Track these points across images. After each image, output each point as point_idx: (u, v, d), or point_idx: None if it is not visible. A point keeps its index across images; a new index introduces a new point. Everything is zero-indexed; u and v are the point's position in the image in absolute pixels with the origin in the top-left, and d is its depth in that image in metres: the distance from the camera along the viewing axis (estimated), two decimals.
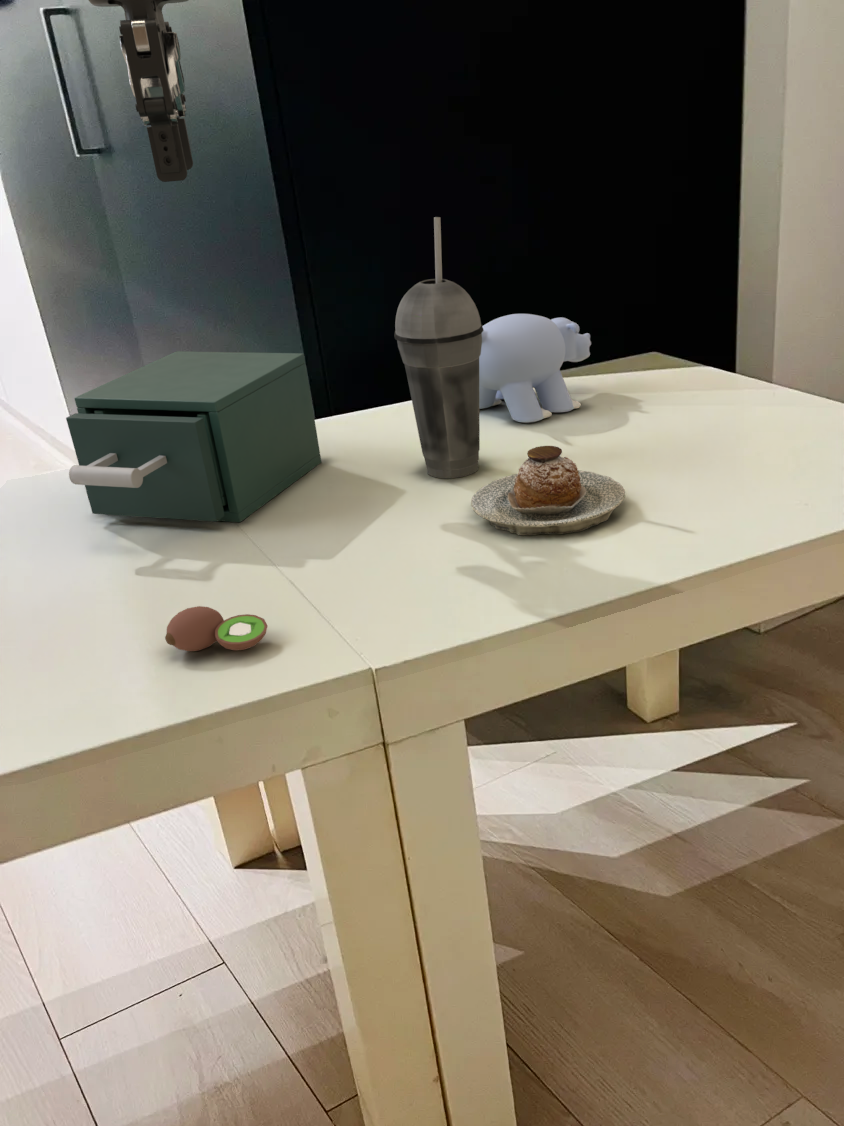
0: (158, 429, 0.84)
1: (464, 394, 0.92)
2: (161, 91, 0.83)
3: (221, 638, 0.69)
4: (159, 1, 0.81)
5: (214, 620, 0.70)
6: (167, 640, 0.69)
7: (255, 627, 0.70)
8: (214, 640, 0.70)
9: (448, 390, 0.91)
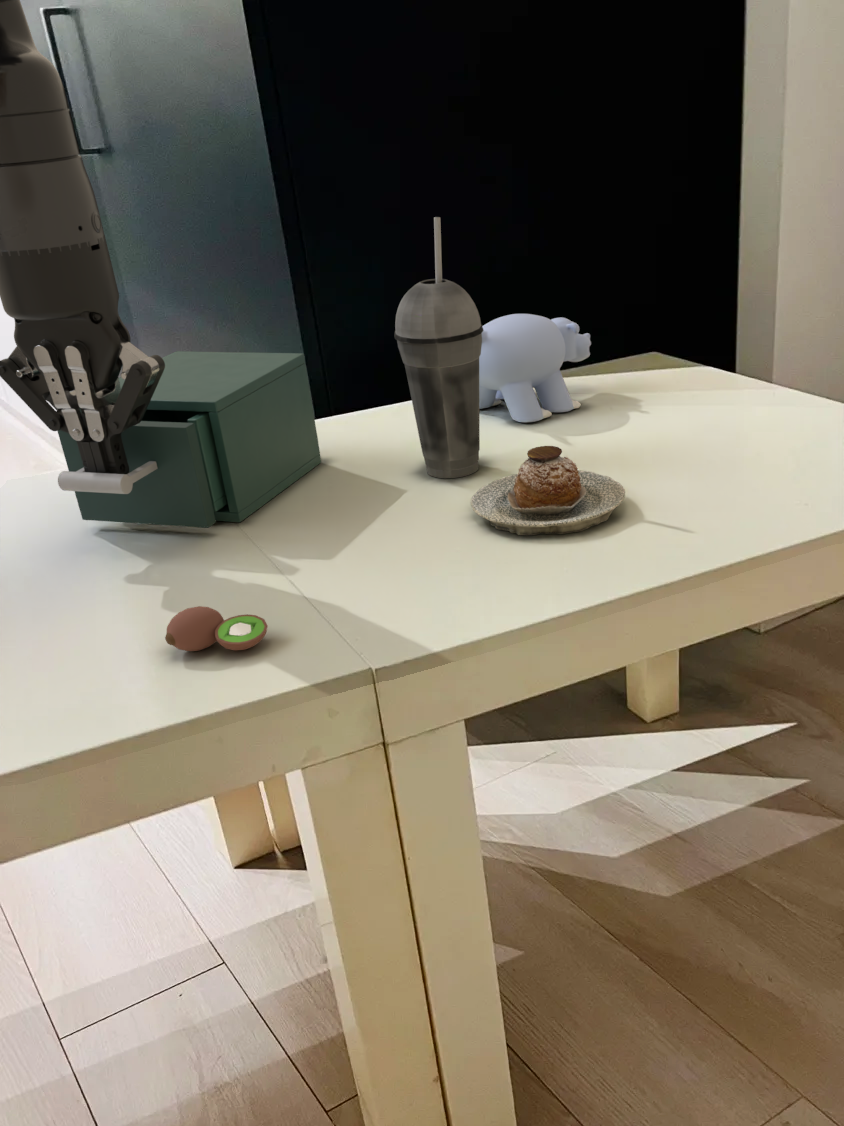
0: (148, 434, 0.83)
1: (464, 394, 0.92)
2: None
3: (221, 638, 0.69)
4: None
5: (214, 620, 0.70)
6: (167, 640, 0.69)
7: (255, 627, 0.70)
8: (214, 640, 0.70)
9: (448, 390, 0.91)
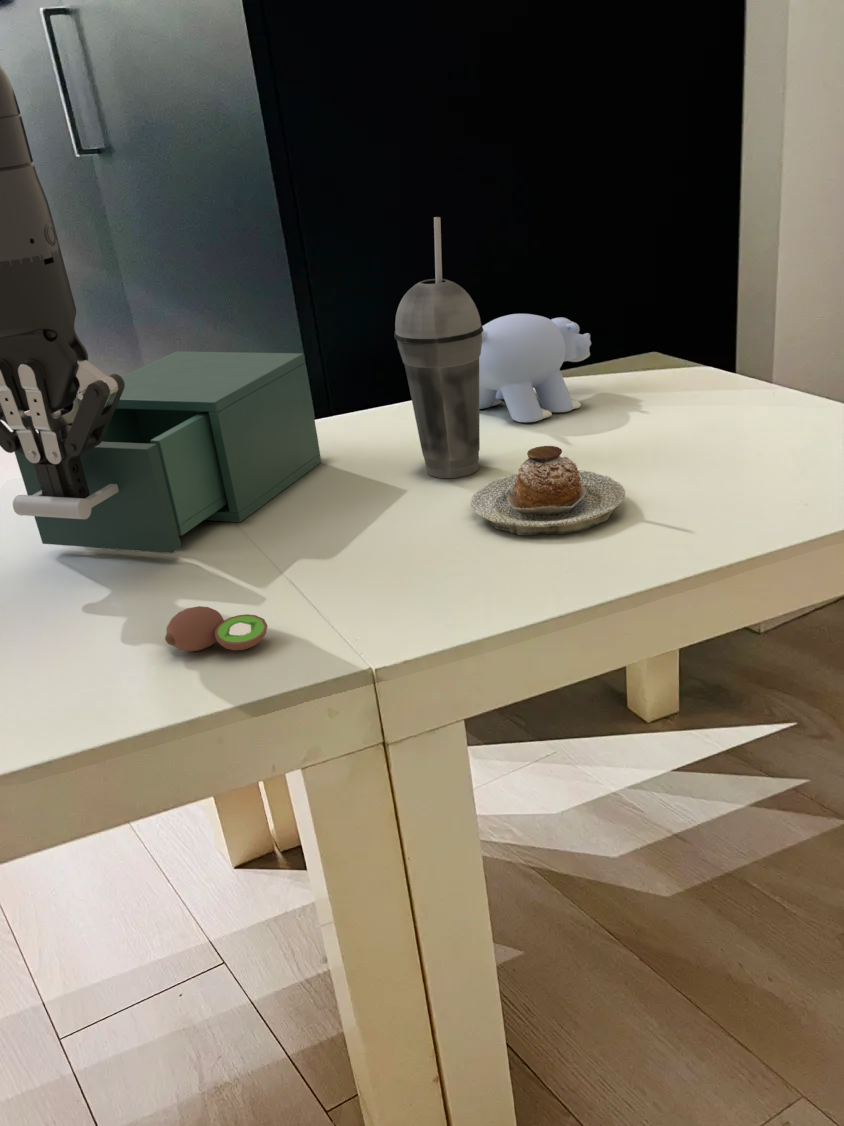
0: (109, 456, 0.79)
1: (464, 394, 0.92)
2: None
3: (221, 638, 0.69)
4: None
5: (214, 620, 0.70)
6: (167, 640, 0.69)
7: (255, 627, 0.70)
8: (214, 640, 0.70)
9: (448, 390, 0.91)
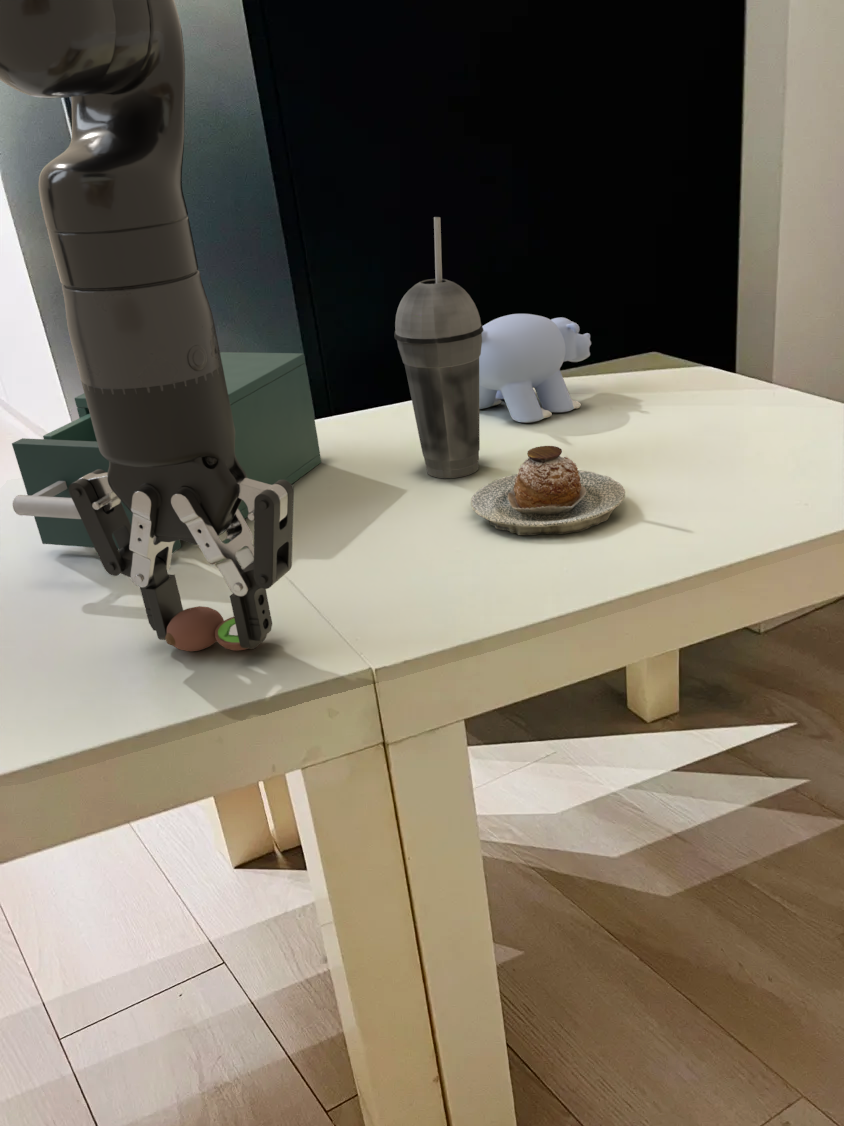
0: None
1: (464, 394, 0.92)
2: None
3: (221, 638, 0.69)
4: None
5: (214, 620, 0.70)
6: (167, 640, 0.69)
7: None
8: (214, 640, 0.70)
9: (448, 390, 0.91)
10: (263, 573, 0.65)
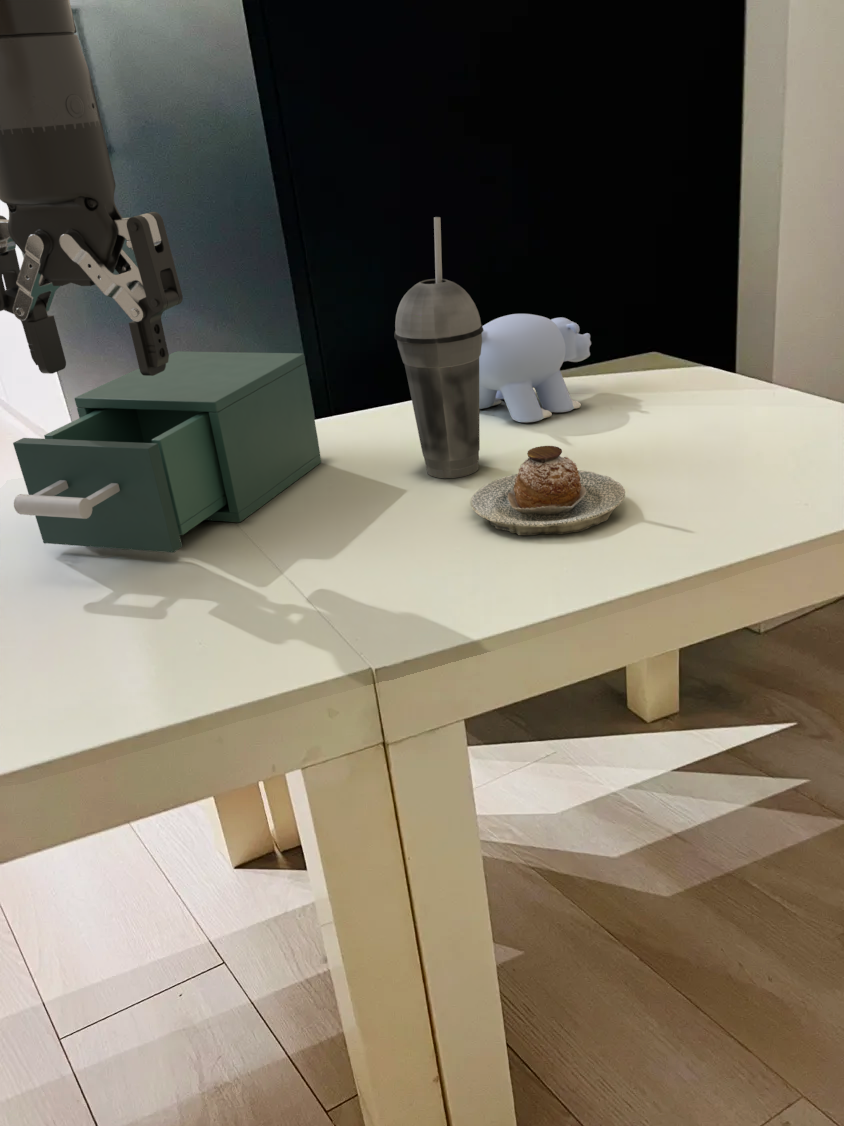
0: (109, 455, 0.79)
1: (464, 394, 0.92)
2: None
3: None
4: None
5: None
6: None
7: None
8: None
9: (448, 390, 0.91)
10: (155, 296, 0.76)
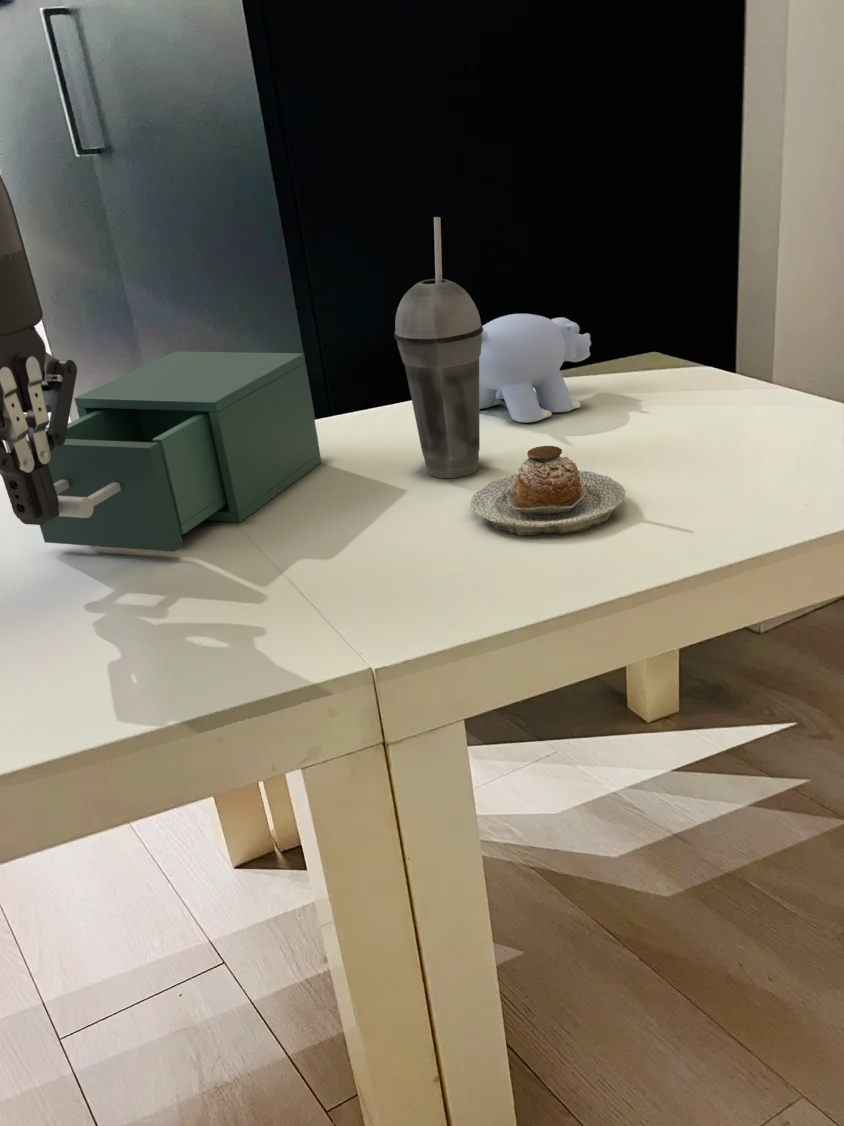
0: (111, 455, 0.80)
1: (464, 394, 0.92)
2: None
3: None
4: None
5: None
6: None
7: None
8: None
9: (448, 390, 0.91)
10: (58, 430, 0.76)
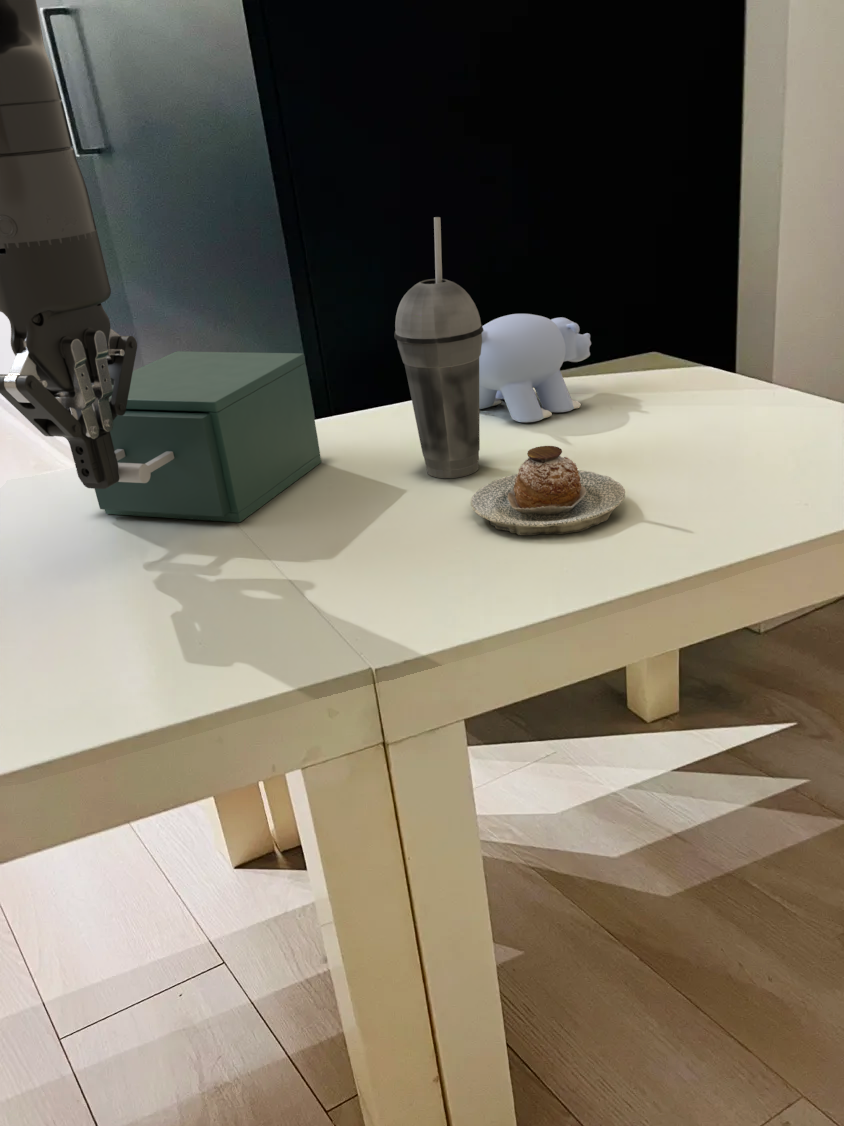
0: (165, 425, 0.85)
1: (464, 394, 0.92)
2: None
3: None
4: (51, 312, 0.74)
5: None
6: None
7: None
8: None
9: (448, 390, 0.91)
10: (120, 401, 0.81)
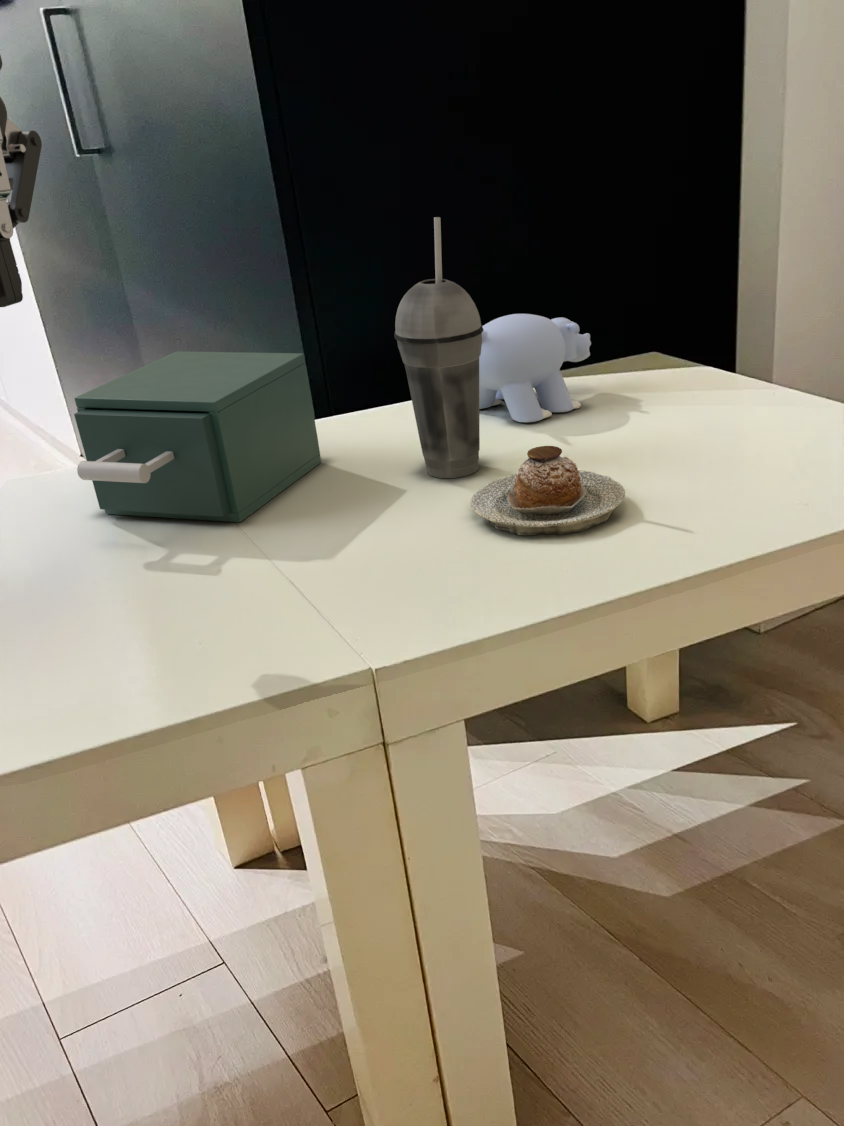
0: (165, 425, 0.85)
1: (464, 394, 0.92)
2: None
3: None
4: None
5: None
6: None
7: None
8: None
9: (448, 390, 0.91)
10: (21, 205, 0.71)
